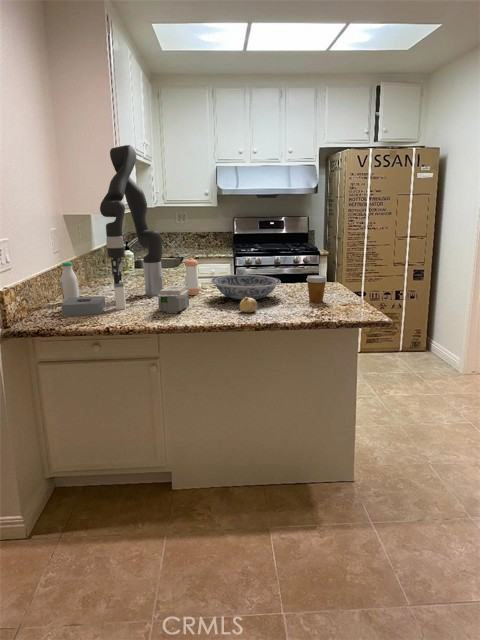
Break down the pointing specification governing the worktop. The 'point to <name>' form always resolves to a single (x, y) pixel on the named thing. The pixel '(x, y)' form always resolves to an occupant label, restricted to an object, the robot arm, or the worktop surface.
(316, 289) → the disposable coffee cup
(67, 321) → the worktop surface
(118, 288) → the plug
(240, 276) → the ceramic bowl
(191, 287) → the pepper shaker
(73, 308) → the socket block
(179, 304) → the grey box
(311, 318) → the worktop surface
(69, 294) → the milk bottle
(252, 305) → the onion
